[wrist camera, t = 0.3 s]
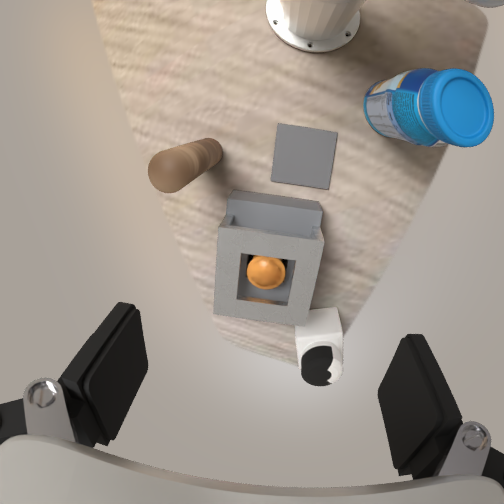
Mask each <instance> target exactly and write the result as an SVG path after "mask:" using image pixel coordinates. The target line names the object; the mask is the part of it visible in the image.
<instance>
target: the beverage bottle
mask: <svg viewBox="0 0 504 504" xmlns="http://www.w3.org/2000/svg"><path fill="white" fill-rule="evenodd" d="M363 109H364V114H365V117H366V119H367V121H368V123H369V124H370V126H371V127H372V128H373V129H374V130H375V131H377V132H378V133H380V134H381V135H384V136H386V137H391V138H397V139H401V140H405V141H407V142H409V143H412V144H415V145H421V146H428V147H442V146H445V145H448V144H451V145H455V146H459V147H473V146H477V145H479V144H480V143H482V142H483V141H484V140H485V139H486V138H487V137H488V135H489V134H490V131H491V129H492V126H493V121H494V109H493V103H492V100H491V97H490V95H489V92H488V90H487V89H486V87H485V86H484V84H483V83H482V82H481V81H480V80H479V79H478V78H477V77H476V76H475V75H473V74H472V73H470V72H468V71H465V70H462V69H454V68H452V69H446V70H442V71H437V70H434V69H429V68H419V69H415V70H409V71H405V72H402V73H400V74H398V75H397V76H395V77H394V78H391V79H388V80H383V81H379V82H377V83H375V84H374V85H372V86H371V87H370V88H369V89H368V91H367V92H366V95H365V97H364V102H363Z"/></svg>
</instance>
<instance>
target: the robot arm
mask: <svg viewBox="0 0 504 504" xmlns="http://www.w3.org/2000/svg"><path fill="white" fill-rule="evenodd" d="M465 1H467V2H469V3H472V4H475V5H478V6H481V7H487V8H490V7H491V8H493V7H498V6H502V5H504V0H465ZM364 2H365V0H267V3H266V15H267V19H268V22H269V25H270V26H271V28H272V30H273V31H274V32H275V34H276V35H277V36H278V37H279V38H280V39H282V40H283V41H284V42H286V43H287V44H289V45H291V46H293V47H295V48H298V49H300V50H304V51H309V52H328V51H332V50H335V49H338V48H340V47H342V46H344V45H345V44H347V43H348V42H349V41H350V40H351V39H352V38H353V37H354V35H355V34H356V32H357V30H358V28H359V24H360V11H359V9H360V7H361V6H362V4H363V3H364ZM274 23H277V24H278V25H274ZM345 34H348V37H347V36H346V35H345ZM308 45H311V46H312V47H311V48H309V47H308ZM147 370H148V360H147V354H146V348H145V342H144V336H143V330H142V323H141V316H140V311H139V310H138V309H136V307H135V305H133V304H128V303H123V302H118V303H117V304H116V306H115V307H114V308H113V310H112V311H111V312H110V313H109V315H108V316H107V317H106V318H105V320H104V321H103V322H102V323H101V325H100V326H99V327H98V329H97V330H96V331H95V333H93V334H92V335H91V336H90V337H89V339H88V340H87V341H86V343H85V344H84V345H83V347H82V348H81V349H80V351H79V352H78V353H77V355H76V356H75V357H74V359H73V360H72V361H71V363H70V364H69V365H68V367H67V368H66V370H65V371H64V372H63V374H62V375H61V377H60V378H59V379H58V381H55V380H53V379H50V378H40V379H37V380H34V381H33V382H31V383H30V384H29V385H28V386H27V387H26V389H25V391H24V395H23V398H22V399H19V400H15V401H11V402H7V403H3V404H0V504H504V454H503V453H501V452H499V451H498V450H496V449H494V448H492V447H490V446H491V436H490V433H489V432H488V430H487V429H486V428H485V427H484V426H483V425H482V424H480V423H478V422H474V421H469V422H465V423H464V424H463V422H462V420H461V419H462V415H461V413H460V411H459V408H458V406H457V404H456V401H455V399H454V397H453V395H452V393H451V390H450V388H449V386H448V384H447V382H446V380H445V378H444V375H443V373H442V371H441V369H440V367H439V365H438V363H437V361H436V359H435V357H434V355H433V353H432V351H431V349H430V347H429V345H428V343H427V341H426V340H425V337H424V336H423V335H422V334H407V336H406V337H405V338H402V339H401V341H400V344H399V346H398V348H397V350H396V353H395V355H394V357H393V359H392V361H391V364H390V366H389V368H388V370H387V372H386V374H385V376H384V378H383V380H382V382H381V384H380V387H379V389H378V399H379V403H380V407H381V411H382V415H383V420H384V424H385V428H386V433H387V437H388V442H389V446H390V451H391V456H392V461H393V466H394V468H395V469H398V473H399V476H403V475H409V474H412V477H413V480H410V481H404V482H395V483H387V484H378V485H367V486H354V487H333V488H332V487H331V488H298V487H275V486H262V485H252V484H242V483H234V482H227V481H219V480H213V479H208V478H202V477H196V476H191V475H186V474H182V473H177V472H172V471H168V470H164V469H160V468H156V467H152V466H148V465H145V464H141V463H138V462H134V461H131V460H128V459H124V458H120V457H117V456H115V455H111V454H108V453H105V452H103V451H100V450H97V449H94V448H93V447H94V446H95V444H96V442H97V443H99V444H102V445H105V446H108V444H109V442H110V440H114V439H115V438H116V436H117V434H118V432H119V430H120V428H121V425H122V423H123V421H124V419H125V417H126V415H127V412H128V411H129V408H130V406H131V404H132V402H133V400H134V398H135V396H136V394H137V392H138V389H139V387H140V385H141V383H142V381H143V379H144V377H145V375H146V373H147Z"/></svg>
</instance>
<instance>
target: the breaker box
mask: <svg viewBox="0 0 504 504" xmlns="http://www.w3.org/2000/svg"><path fill="white" fill-rule="evenodd" d="M322 213H323V211H322V209H321V206H320V204H319V201H313V200H306V199H299V198H292V197H285V196H278V195H271V194H263V193H255V192H247V191H239V190H233V191H232V193H231V194H230V196H229V197H228V199H227V210H226V214H231V215H234V219H233V224H232V226H238V227H246V228H253V229H261V230H268V231H276V232H283V233H290V234H297V235H304V236H310V235H311V230H312V226H319V227H320V224H321V219H322ZM249 257H250V254H244V253H242V254H241V264H240V274H239V284H238V294H237V295H239V296H246V297H253V298H261V299H268V300H275V301H283V302H287V301H288V296H289V291H290V286H291V281H292V275H293V270H294V265H295V260H288V259H286V260H285V265H284V267H285V278H284V280H283V282H282V283H281V284H280V285H279V286H278V287H276V288H273V289H268V290H265V289H260V288H257V287H256V286H254V285H253V284H252V283H251V282H250V281H249V279H248V276H247V268H248V265H249V263H250V261H249Z"/></svg>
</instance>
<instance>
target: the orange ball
mask: <svg viewBox="0 0 504 504" xmlns="http://www.w3.org/2000/svg"><path fill="white" fill-rule="evenodd" d="M247 276H248V279H249V281H250V282H251V283H252V284H253V285H254V286H256V287H257V288H260V289H265V290H268V289H273V288H276V287H278V286H279V285H280V284H281V283H282V282H283V280H284V278H285V267H284V264H283V263H282V259H281V258H273V257H266V256H259V255H253V259H252V260H251V261H250V263H249V265H248V268H247Z"/></svg>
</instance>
